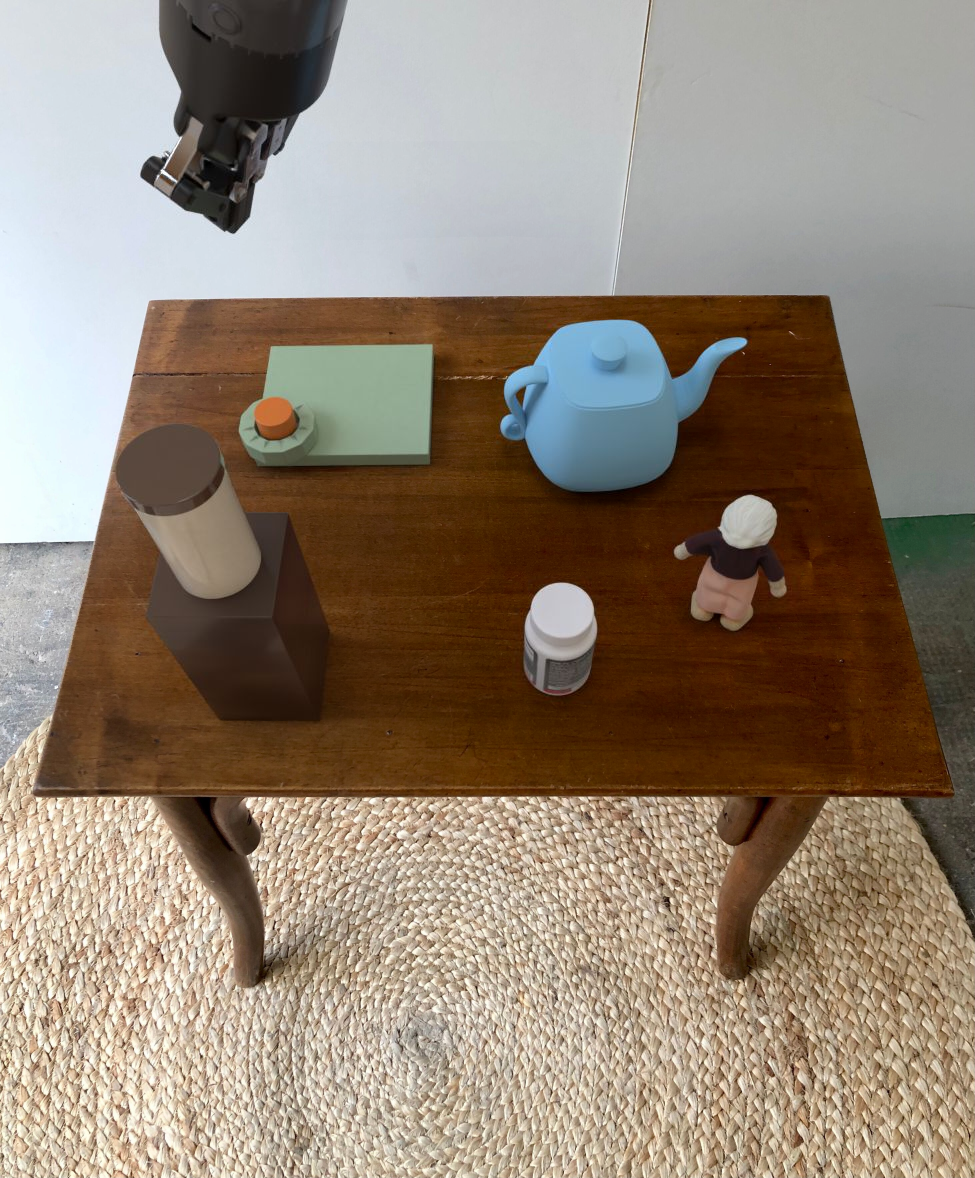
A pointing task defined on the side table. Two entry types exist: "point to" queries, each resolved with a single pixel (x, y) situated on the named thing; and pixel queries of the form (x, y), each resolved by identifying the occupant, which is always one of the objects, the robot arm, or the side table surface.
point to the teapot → (605, 404)
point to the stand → (251, 633)
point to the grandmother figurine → (735, 562)
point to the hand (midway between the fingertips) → (225, 217)
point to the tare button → (275, 418)
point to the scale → (348, 406)
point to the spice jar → (190, 508)
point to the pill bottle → (559, 639)
